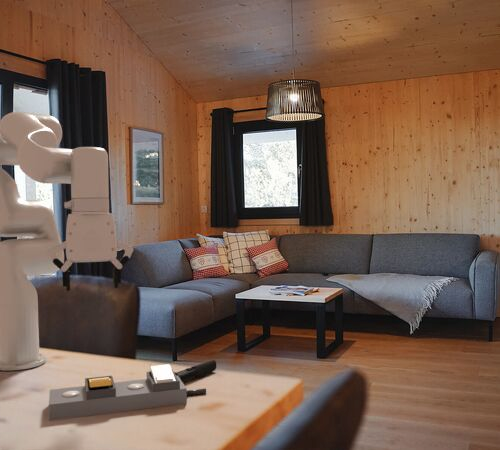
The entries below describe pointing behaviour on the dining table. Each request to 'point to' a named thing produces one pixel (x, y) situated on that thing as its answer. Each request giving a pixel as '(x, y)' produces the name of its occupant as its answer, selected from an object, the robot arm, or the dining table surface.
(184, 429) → the dining table surface
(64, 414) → the power strip
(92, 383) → the amber rocker
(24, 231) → the robot arm
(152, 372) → the white rocker switch
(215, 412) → the dining table surface
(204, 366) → the electric trimmer
